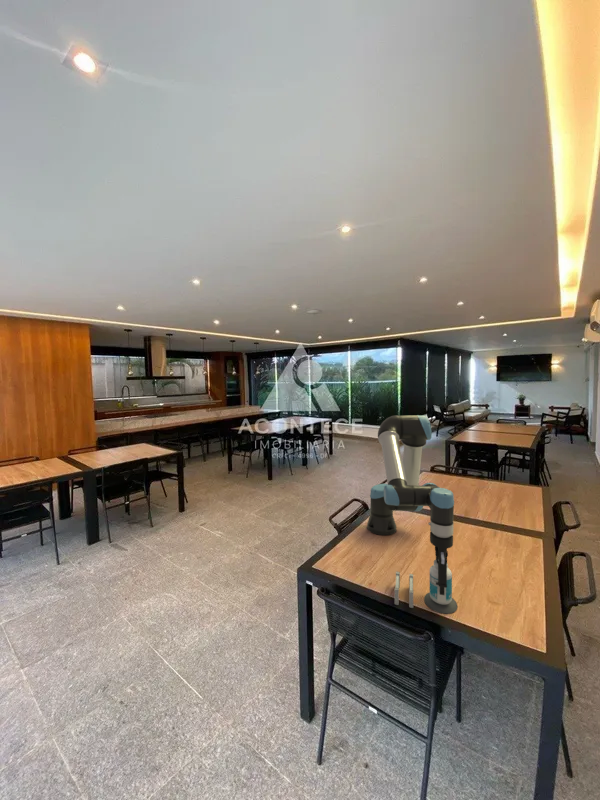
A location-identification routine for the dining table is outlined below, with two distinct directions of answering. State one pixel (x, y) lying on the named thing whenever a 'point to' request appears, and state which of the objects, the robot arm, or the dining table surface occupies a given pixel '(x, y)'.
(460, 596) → the dining table surface
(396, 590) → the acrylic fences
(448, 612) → the coaster
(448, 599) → the pill bottle
